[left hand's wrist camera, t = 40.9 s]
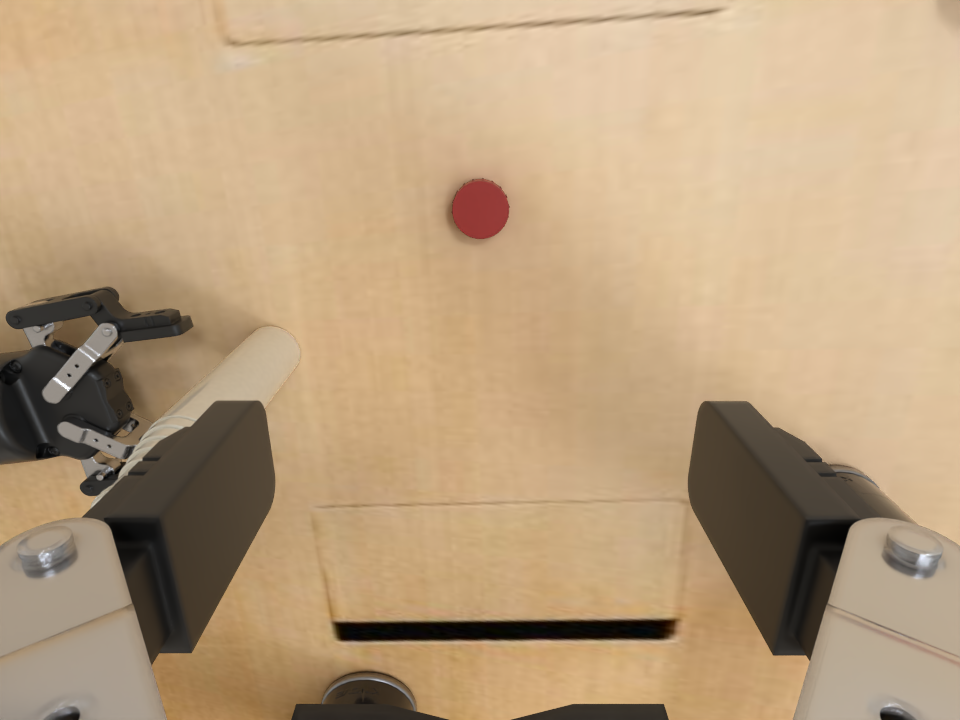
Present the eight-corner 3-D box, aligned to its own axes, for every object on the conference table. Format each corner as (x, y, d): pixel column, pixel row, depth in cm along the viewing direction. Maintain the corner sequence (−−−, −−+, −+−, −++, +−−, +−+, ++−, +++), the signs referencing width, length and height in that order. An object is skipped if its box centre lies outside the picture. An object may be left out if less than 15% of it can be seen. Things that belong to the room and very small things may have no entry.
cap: (474, 246, 43) (474, 250, 41) (441, 200, 42) (440, 203, 40) (519, 214, 42) (520, 217, 40) (487, 166, 41) (487, 168, 39)
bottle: (247, 321, 45) (68, 473, 25) (302, 331, 45) (167, 488, 26) (245, 371, 46) (74, 550, 27) (298, 380, 47) (168, 564, 27)
